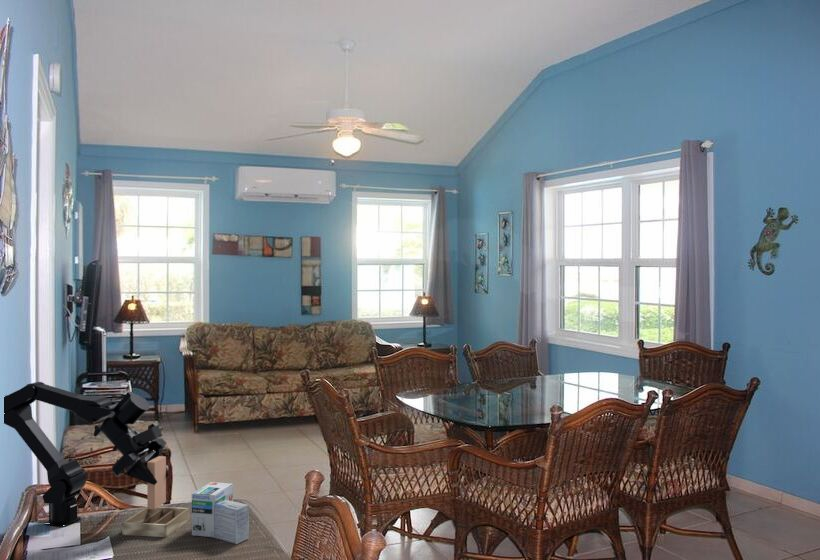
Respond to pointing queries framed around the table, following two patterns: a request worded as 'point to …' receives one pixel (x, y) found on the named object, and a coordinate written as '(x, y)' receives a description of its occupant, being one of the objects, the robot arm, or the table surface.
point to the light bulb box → (208, 506)
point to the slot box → (156, 521)
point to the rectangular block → (157, 491)
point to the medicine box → (231, 521)
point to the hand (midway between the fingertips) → (161, 480)
